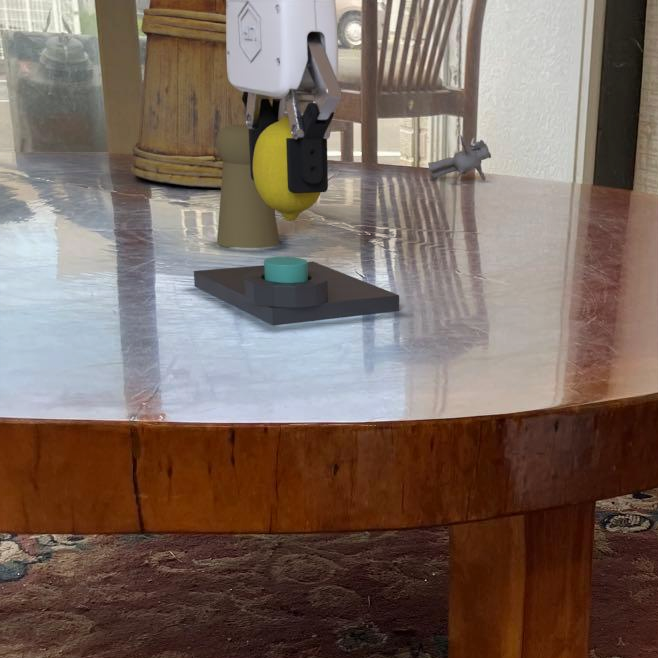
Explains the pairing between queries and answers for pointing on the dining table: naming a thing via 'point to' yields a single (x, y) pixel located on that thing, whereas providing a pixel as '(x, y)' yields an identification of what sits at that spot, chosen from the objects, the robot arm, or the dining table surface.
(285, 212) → the lemon
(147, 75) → the tankard
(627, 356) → the dining table surface
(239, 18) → the robot arm
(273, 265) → the button
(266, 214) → the cork
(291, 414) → the dining table surface
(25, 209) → the dining table surface
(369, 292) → the dark button base
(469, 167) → the grey branched piece
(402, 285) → the dining table surface
